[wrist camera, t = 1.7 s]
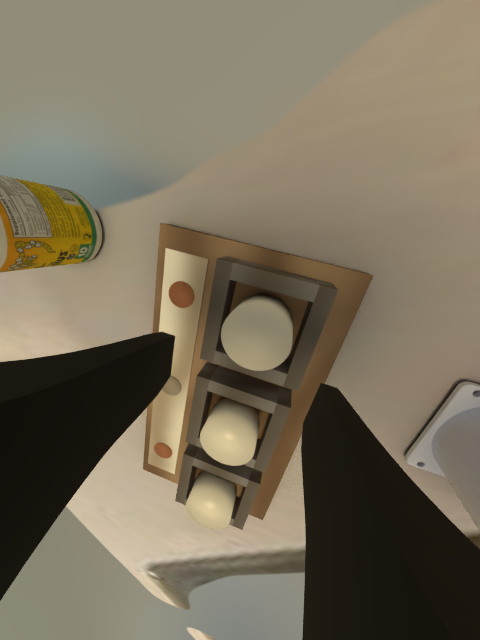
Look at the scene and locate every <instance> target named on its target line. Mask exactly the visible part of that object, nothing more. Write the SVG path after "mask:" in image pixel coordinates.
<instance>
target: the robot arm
mask: <svg viewBox="0 0 480 640" xmlns="http://www.w3.org/2000/svg"><path fill="white" fill-rule="evenodd" d="M174 343H175V336H174V335H171V334H168V333H165V332H157V333H152V334H148V335H143V336H139V337H136V338H132V339H128V340H124V341H120V342H116V343H112V344H108V345H103V346H99V347H94V348H90V349H85V350H81V351H76V352H71V353H65V354H60V355H53V356H47V357H40V358H34V359H26V360H17V361H7V362H0V600H1V599H2V597H3V595H4V594H5V593H6V591H7V590H8V588H9V587H10V585H11V584H12V582H13V581H14V579H15V578H16V576H17V575H18V573H19V572H20V570H21V569H22V567H23V566H24V564H25V563H26V561H27V560H28V559H29V557H30V556H31V554H32V553H33V551H34V550H35V549H36V547H37V546H38V544H39V543H40V541H41V540H42V539H43V537H44V536H45V534H46V533H47V531H48V530H49V529H50V527H51V526H52V524H53V523H54V522H55V520H56V519H57V517H58V515H60V513H61V512H62V510H63V509H64V508H65V506H66V505H67V504H68V502H69V501H70V500H71V498H72V497H73V495H74V494H75V493H76V491H77V490H78V489H79V487H80V486H81V485H82V483H83V482H84V481H85V479H86V478H87V477H88V475H89V474H90V473H91V471H92V470H93V469H94V467H95V466H96V465H97V464H98V462H99V461H100V460H101V458H102V457H103V456H104V454H105V453H106V452H107V451H108V450H109V449H110V447H111V446H112V445H113V444H114V443H115V442H116V440H117V439H118V438H119V437H120V436H121V435H122V434H123V433H124V432H125V431H126V430H127V428H128V427H129V426H130V425H131V424H132V423H133V422H134V421H135V420H136V419H137V418H138V416H139V415H140V414H141V413H142V412H143V411H144V410H145V409H146V408H147V406H148V405H149V404H150V403H151V402H152V401H153V400H154V399H155V398H156V396H157V395H158V394H159V392H160V391H161V390H162V388H163V387H164V385H165V384H166V382H167V381H168V379H169V378H170V376H171V369H172V361H173V352H174ZM477 390H478V391H477ZM474 391H477V392H476V393H473V392H474ZM301 453H302V472H303V489H304V506H305V524H306V556H305V592H304V619H303V640H480V549H479V548H478V547H477V546H476V545H474V544H473V543H472V542H471V541H470V540H469V539H468V538H467V537H466V536H465V535H464V534H463V533H462V532H461V531H460V530H459V529H458V528H457V527H456V526H455V525H454V524H453V523H452V522H451V521H450V520H449V519H448V518H447V517H446V516H445V515H444V514H443V513H442V512H441V510H440V509H439V508H438V507H437V506H436V505H435V504H434V503H433V502H432V501H431V500H430V499H429V498H428V497H427V496H426V495H425V494H424V493H423V492H422V491H421V489H420V488H419V487H418V486H417V485H416V484H415V483H414V482H413V481H412V480H411V479H410V477H409V476H408V475H407V474H406V473H405V472H404V471H403V469H402V468H401V467H400V466H399V465H398V464H397V462H396V461H395V460H394V459H393V458H392V457H391V455H390V454H389V453H388V452H387V451H386V450H385V448H384V447H383V446H382V445H381V443H380V442H379V441H378V440H377V438H376V437H375V436H374V435H373V433H372V432H371V431H370V430H369V428H368V427H367V426H366V425H365V423H364V422H363V421H362V419H361V418H360V417H359V415H358V414H357V413H356V411H355V410H354V409H353V407H352V406H351V405H350V403H349V402H348V401H347V400H346V398H345V397H344V396H343V394H342V393H341V392H340V391H339V390H338V388H335V387H332V386H329V385H326V384H323V383H320V386H319V388H318V390H317V392H316V395H315V397H314V399H313V402H312V404H311V406H310V408H309V411H308V413H307V415H306V417H305V420H304V422H303V430H302V446H301ZM405 460H406V462H407V464H409V465H410V466H413V467H416V468H419V469H422V470H424V471H427V472H430V473H433V474H436V475H439V476H441V477H444V478H447V480H448V481H449V483H450V485H451V486H452V488H453V489H454V491H455V493H456V494H457V496H458V497H459V499H460V501H461V502H462V504H463V505H464V507H465V509H466V510H467V512H468V513H469V515H470V517H471V518H472V520H473V521H474V523H475V525H476V526H477V528H478V529H479V531H480V385H479V384H475V383H472V382H467V381H466V382H462V383H459V384H458V385H457V387H456V388H455V389H454V391H453V392H452V393H451V395H450V396H449V397H448V399H447V400H446V401H445V403H444V404H443V405H442V407H441V408H440V409H439V411H438V412H437V413H436V415H435V416H434V417H433V419H432V420H431V421H430V423H429V424H428V425H427V427H426V428H425V429H424V431H423V432H422V434H421V435H420V436H419V438H418V439H417V440H416V442H415V443H414V444H413V446H412V447H411V448H410V450H409V451H408V452H407V454H406V455H405Z"/></svg>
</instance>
